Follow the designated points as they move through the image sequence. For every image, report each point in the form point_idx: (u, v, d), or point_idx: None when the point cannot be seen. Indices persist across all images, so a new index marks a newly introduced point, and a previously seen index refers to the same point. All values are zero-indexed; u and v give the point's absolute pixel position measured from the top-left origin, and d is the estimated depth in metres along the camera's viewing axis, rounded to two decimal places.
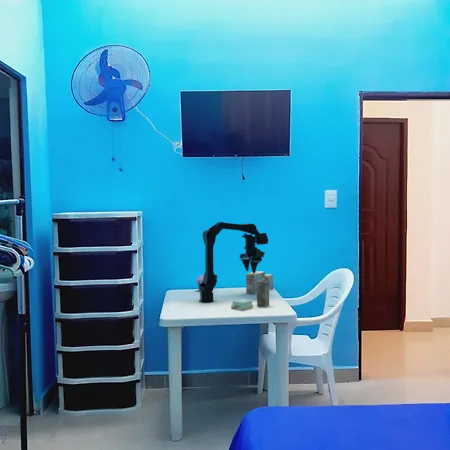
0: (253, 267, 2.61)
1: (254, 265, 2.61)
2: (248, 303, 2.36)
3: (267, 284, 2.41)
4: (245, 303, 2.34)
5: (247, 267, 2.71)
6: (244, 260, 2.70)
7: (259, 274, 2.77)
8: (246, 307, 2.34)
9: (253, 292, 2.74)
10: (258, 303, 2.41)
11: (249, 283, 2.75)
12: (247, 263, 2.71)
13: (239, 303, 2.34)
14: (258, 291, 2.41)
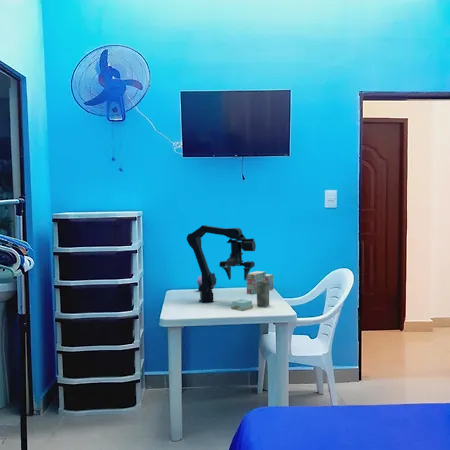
0: None
1: None
2: (248, 303, 2.36)
3: (267, 284, 2.41)
4: (245, 303, 2.34)
5: None
6: None
7: (259, 274, 2.77)
8: (246, 307, 2.34)
9: (253, 292, 2.74)
10: (258, 303, 2.41)
11: (250, 283, 2.75)
12: None
13: (239, 303, 2.34)
14: (258, 291, 2.41)
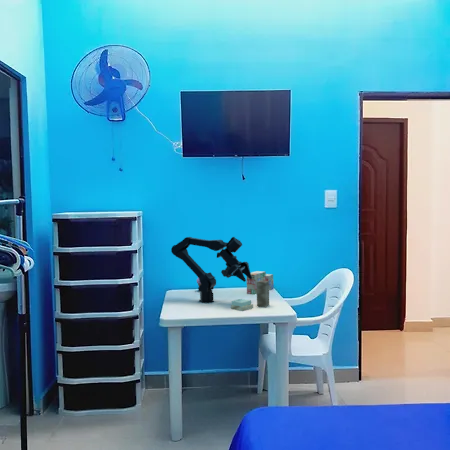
0: None
1: None
2: (247, 303, 2.36)
3: (267, 284, 2.41)
4: (244, 303, 2.34)
5: None
6: None
7: (259, 274, 2.77)
8: (246, 307, 2.34)
9: (253, 292, 2.74)
10: (258, 303, 2.41)
11: (250, 283, 2.75)
12: None
13: (238, 303, 2.34)
14: (258, 291, 2.41)
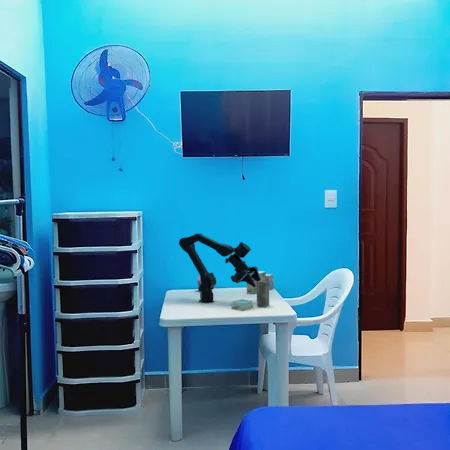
0: None
1: None
2: (248, 303, 2.36)
3: (267, 284, 2.41)
4: (245, 303, 2.34)
5: None
6: None
7: (260, 274, 2.77)
8: (246, 307, 2.34)
9: (254, 292, 2.74)
10: (258, 303, 2.41)
11: None
12: None
13: (239, 303, 2.34)
14: (258, 291, 2.41)
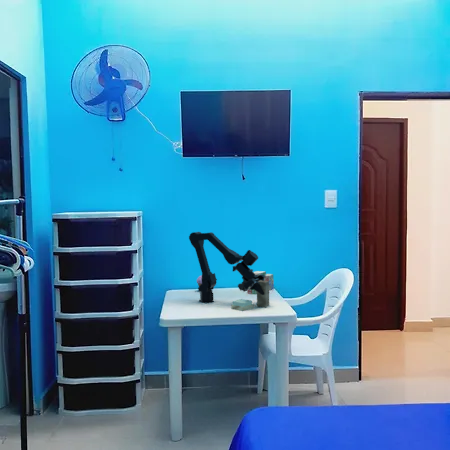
0: None
1: None
2: (248, 303, 2.36)
3: (267, 284, 2.42)
4: (245, 303, 2.34)
5: None
6: None
7: (260, 274, 2.78)
8: (246, 307, 2.34)
9: (254, 292, 2.74)
10: (258, 303, 2.41)
11: None
12: None
13: (239, 303, 2.34)
14: None
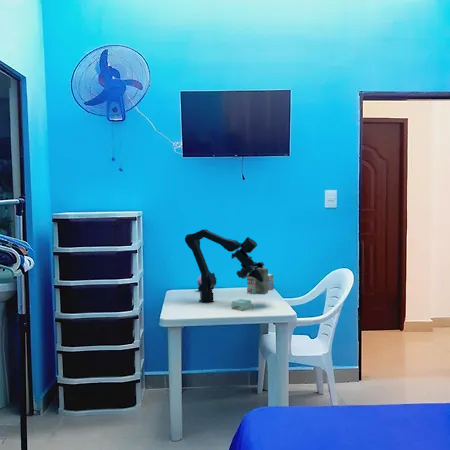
0: None
1: None
2: (247, 303, 2.36)
3: (266, 271, 2.41)
4: (245, 303, 2.34)
5: None
6: None
7: None
8: (246, 307, 2.34)
9: (254, 292, 2.75)
10: (256, 290, 2.41)
11: (250, 283, 2.76)
12: None
13: (239, 303, 2.34)
14: None
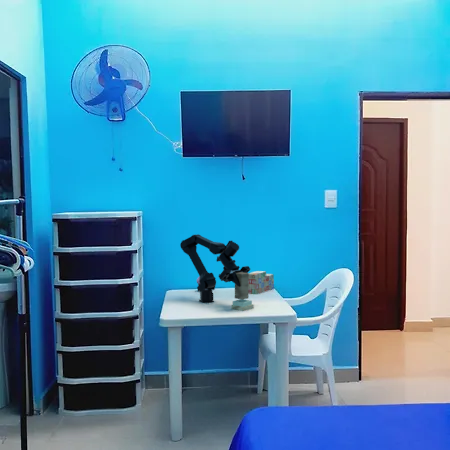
0: None
1: None
2: (248, 303, 2.36)
3: (245, 276, 2.36)
4: (245, 303, 2.34)
5: None
6: None
7: (260, 274, 2.78)
8: (246, 307, 2.34)
9: (254, 292, 2.75)
10: (235, 295, 2.37)
11: (250, 283, 2.76)
12: None
13: (239, 303, 2.34)
14: None
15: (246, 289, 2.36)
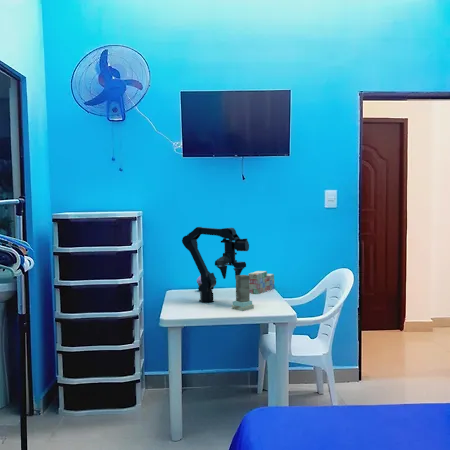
0: None
1: None
2: (248, 303, 2.36)
3: (245, 278, 2.36)
4: (245, 303, 2.34)
5: None
6: None
7: (261, 274, 2.78)
8: (246, 307, 2.34)
9: (256, 292, 2.75)
10: (236, 297, 2.38)
11: (252, 283, 2.76)
12: None
13: (239, 303, 2.34)
14: (236, 285, 2.38)
15: (246, 291, 2.36)
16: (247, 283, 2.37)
